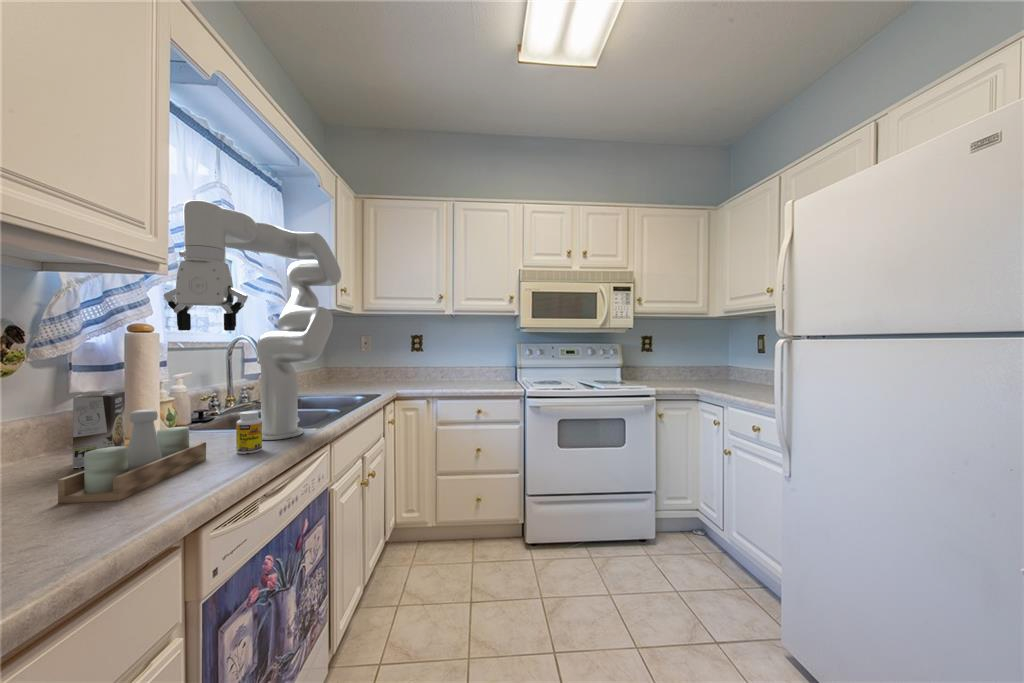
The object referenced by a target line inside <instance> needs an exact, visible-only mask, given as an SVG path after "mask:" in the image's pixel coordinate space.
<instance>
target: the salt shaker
mask: <svg viewBox="0 0 1024 683" xmlns="http://www.w3.org/2000/svg"><path fill="white" fill-rule="evenodd" d="M158 416H159V414H158V411H157V410H155V409H148V408H147V409H146V408H145V409H139V410H134V411H132V412H131V413H130V414H129V422H130V423H131V424H132V428H131V432H130V433H131V434H130V437H129V442H128V446H127V447H128V471H131V470H133V469H136V468H138V467H141V466H143V465H146V464H148V463H151V462H153V461H156V460H158V459H161V458H162V454H161V450H160V446H159V442H158V438H157V429H156V425H155V421H156V420H158Z"/></svg>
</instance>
